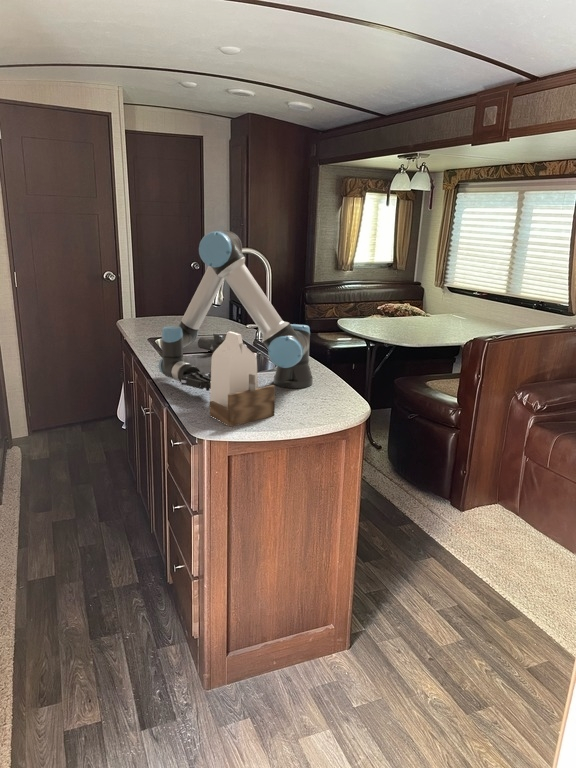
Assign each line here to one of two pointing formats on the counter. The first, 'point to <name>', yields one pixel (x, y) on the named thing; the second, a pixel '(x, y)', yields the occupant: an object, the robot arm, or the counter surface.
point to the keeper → (246, 405)
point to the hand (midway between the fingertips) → (222, 389)
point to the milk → (231, 369)
